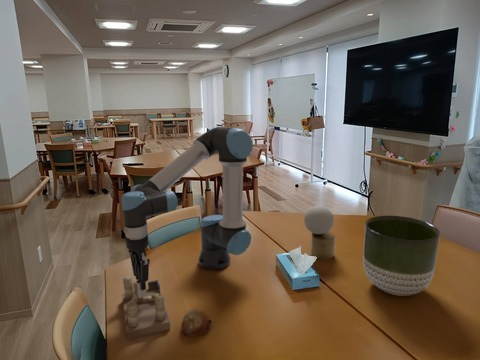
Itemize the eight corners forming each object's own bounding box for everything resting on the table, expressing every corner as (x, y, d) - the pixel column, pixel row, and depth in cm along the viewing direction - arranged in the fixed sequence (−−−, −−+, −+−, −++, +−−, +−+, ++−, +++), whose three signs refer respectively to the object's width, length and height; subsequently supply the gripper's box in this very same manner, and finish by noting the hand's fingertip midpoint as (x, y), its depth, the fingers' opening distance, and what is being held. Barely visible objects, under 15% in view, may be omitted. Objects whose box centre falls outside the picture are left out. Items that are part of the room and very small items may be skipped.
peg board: (122, 300, 135) (120, 276, 132) (158, 293, 140) (157, 269, 137) (127, 340, 113) (124, 311, 110) (170, 329, 118) (168, 301, 115)
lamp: (300, 257, 169) (301, 209, 163) (306, 246, 182) (307, 200, 176) (331, 262, 164) (334, 212, 158) (335, 250, 176) (338, 203, 170)
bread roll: (188, 327, 125) (177, 310, 123) (213, 315, 124) (203, 298, 122) (186, 346, 115) (175, 328, 113) (214, 333, 115) (203, 315, 113)
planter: (425, 277, 149) (433, 219, 143) (437, 313, 125) (447, 244, 118) (360, 268, 158) (364, 212, 151) (360, 300, 133) (365, 235, 127)
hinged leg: (159, 296, 132) (158, 278, 130) (158, 301, 129) (157, 283, 127) (135, 298, 130) (133, 280, 129) (134, 303, 127) (132, 285, 126)
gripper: (119, 233, 123) (126, 292, 128) (133, 244, 113) (140, 308, 118) (139, 228, 127) (145, 285, 133) (154, 238, 117) (160, 300, 123)
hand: (142, 296), depth 126 cm, fingers closed
